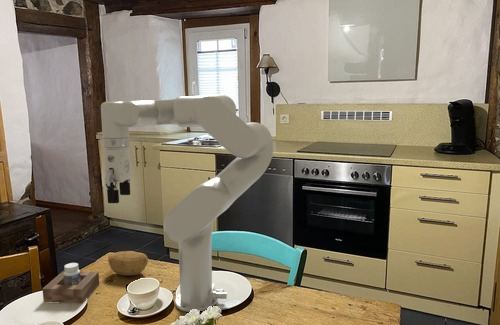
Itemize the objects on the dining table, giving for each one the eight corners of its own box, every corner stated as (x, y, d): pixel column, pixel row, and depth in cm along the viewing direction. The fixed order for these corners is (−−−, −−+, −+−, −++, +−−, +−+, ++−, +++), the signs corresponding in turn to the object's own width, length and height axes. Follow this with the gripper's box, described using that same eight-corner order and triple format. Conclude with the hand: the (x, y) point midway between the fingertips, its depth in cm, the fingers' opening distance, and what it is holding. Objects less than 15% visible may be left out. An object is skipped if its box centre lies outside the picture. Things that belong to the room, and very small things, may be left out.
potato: (118, 266, 145) (117, 245, 143) (153, 270, 142) (152, 249, 140) (102, 278, 135) (101, 256, 134) (139, 282, 132) (138, 260, 131)
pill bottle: (74, 294, 122) (72, 269, 121) (61, 292, 123) (59, 267, 122) (84, 287, 127) (82, 262, 125) (71, 285, 128) (69, 261, 126)
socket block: (99, 284, 131) (98, 271, 130) (82, 303, 119) (81, 289, 118) (63, 284, 131) (62, 271, 131) (43, 302, 120) (42, 288, 119)
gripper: (118, 146, 110) (121, 206, 113) (137, 140, 127) (140, 192, 130) (91, 146, 110) (95, 206, 113) (114, 140, 127) (117, 192, 130)
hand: (119, 198), depth 122 cm, fingers open, 9 cm apart
